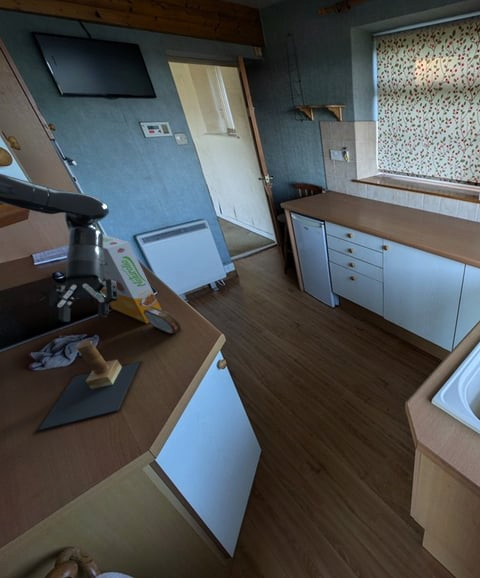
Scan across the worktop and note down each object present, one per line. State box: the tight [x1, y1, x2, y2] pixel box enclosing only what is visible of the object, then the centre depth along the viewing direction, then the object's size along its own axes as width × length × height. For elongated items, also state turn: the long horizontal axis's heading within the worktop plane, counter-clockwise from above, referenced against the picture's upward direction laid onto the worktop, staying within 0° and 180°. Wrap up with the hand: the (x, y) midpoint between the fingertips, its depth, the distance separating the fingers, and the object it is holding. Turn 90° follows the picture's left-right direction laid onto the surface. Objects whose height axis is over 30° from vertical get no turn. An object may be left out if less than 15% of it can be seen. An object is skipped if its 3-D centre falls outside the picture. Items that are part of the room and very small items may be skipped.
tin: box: [144, 306, 182, 335], centre depth 103 cm, size 15×3×8 cm, turn 65°
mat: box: [38, 362, 140, 432], centre depth 81 cm, size 16×18×1 cm
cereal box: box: [101, 233, 162, 324], centre depth 106 cm, size 22×6×30 cm, turn 65°
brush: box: [75, 339, 123, 389], centre depth 82 cm, size 5×7×13 cm
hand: (84, 319), depth 80 cm, fingers open, 8 cm apart
